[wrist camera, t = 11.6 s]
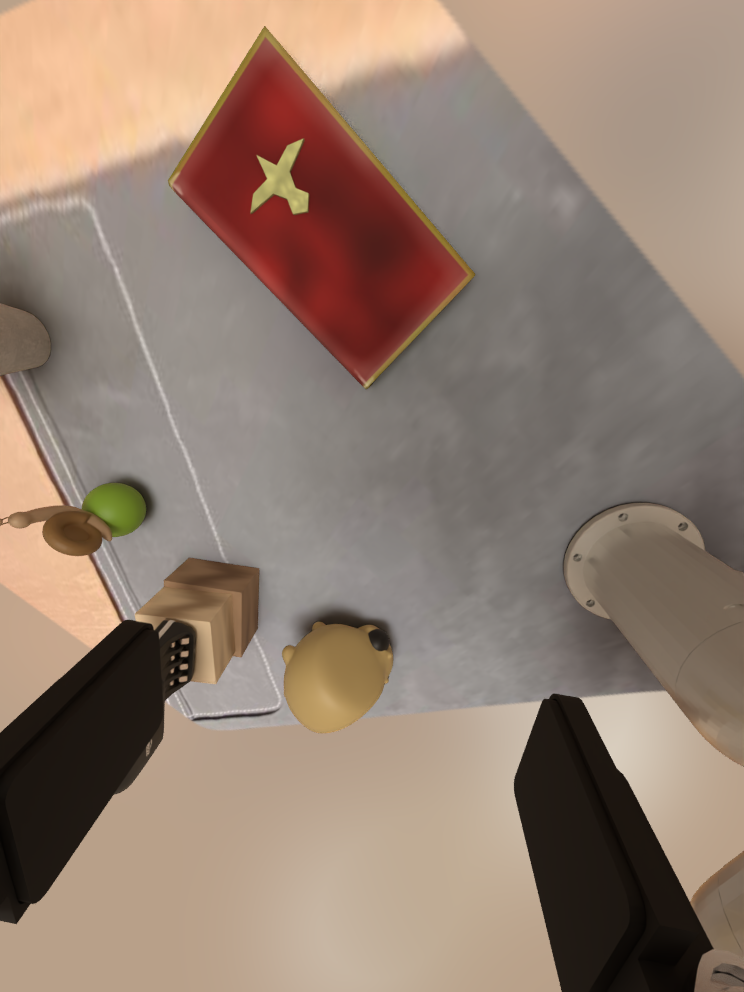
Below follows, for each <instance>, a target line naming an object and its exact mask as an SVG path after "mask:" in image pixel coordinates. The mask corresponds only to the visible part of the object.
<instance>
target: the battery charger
mask: <svg viewBox="0 0 744 992" xmlns="http://www.w3.org/2000/svg"><path fill="white" fill-rule="evenodd" d="M154 631H157V632H158V633H159V642H160V660H161V677H162V694H163V711H164V703H165V700H166V699H167V698H168V697H169V696H170V695H172V694H173V693H174V692H175V691H177V690H178V689H180V688H181V687H183V686H184V685H186V684H187V683H188V682H190V681H191V679H192V678H193V675H194V666H195V650H196V634H195V631H194V630H193V629H192V628H191V627H189V626H188V625H185V624H182V623H178V622H175V621H173V620H169V621H168V620H163V621H162V622H161V623H160V625H159V626H158V627H157V628H156V629H155V630H154ZM163 733H164V712H163V719H162V722H161V724H160V726H159V728H158V730H157V731H156V733H155V734H154V736H153V737H152V739H151V740H150V742H149V743H148V745H147V746H146V748H145V749H144V751H143V752H142V754H141V755H140V756H139V758H138V759H137V761H136V762H135V764H134V765H133V767H132V768H131V770H130V771H129V773H128V774H127V776H126V777H125V778H124V780H123V781H122V783H121V784H120V786H119V787H118V789H117V790H116V792H115V793H114V794H117V793H120V792H122V791H124V790H125V789H127V788H128V787H129V786H130V785H131V784H132V783H133V781H134V780H135V779H136V777H137V776H138V775H139V773H140V772H141V770H142V769H143V767H144V766H145V765H146V763H147V762H148V760H149V759H150V757H151V756H152V754H153V753H154V751H155V749H156V748H157V747H158V745H159V744H160V742H161V741H162V739H163Z"/></svg>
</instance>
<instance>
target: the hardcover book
mask: <svg viewBox="0 0 744 992" xmlns="http://www.w3.org/2000/svg"><path fill="white" fill-rule="evenodd" d="M168 183H169V186H170V187H171V188H172V189H173V191H174V192H175V193H176V194H177V195H178V196H179V197H180V198H181V199H182V200H183V201H184V202H185V203H186V204H187V205H188V206H189V207H190V208H191V209H192V210H193V211H194V212H195V213H196V214H197V215H198V217H199V218H200V219H201V220H202V221H203V222H204V223H205V224H206V225H207V226H208V227H209V228H210V229H211V230H212V231H213V232H214V233H215V234H216V235H217V236H218V237H219V238H220V239H221V240H222V241H223V242H224V243H225V244H226V245H227V246H228V247H229V249H230V250H231V251H232V252H233V253H234V254H235V255H236V256H237V257H238V258H239V259H240V260H241V261H242V262H243V263H244V264H245V265H246V266H247V267H248V268H249V269H250V270H251V271H252V272H253V273H254V274H255V275H256V276H257V277H258V278H259V280H260V281H261V282H262V283H263V284H264V285H265V286H266V287H267V288H268V289H269V290H270V291H271V292H272V293H273V294H274V295H275V296H276V297H277V298H278V299H279V300H280V301H281V302H282V303H283V304H284V305H285V306H286V307H287V308H288V309H289V311H290V312H291V313H292V314H293V315H294V316H295V317H296V318H297V319H298V320H299V321H300V322H301V323H302V324H303V325H304V326H305V327H306V328H307V329H308V330H309V331H310V332H311V333H312V334H313V335H314V336H315V337H316V338H317V339H318V340H319V341H320V343H321V344H322V345H323V346H324V347H325V348H326V349H327V350H328V351H329V352H330V353H331V354H332V355H333V356H334V357H335V358H336V359H337V360H338V361H339V362H340V363H341V364H342V365H343V366H344V367H345V368H346V369H347V370H348V371H349V372H350V374H351V375H352V376H353V377H354V378H355V379H356V380H357V381H358V382H359V383H360V384H361V385H362V386H363V387H364V388H365V389H368V388H369V387H370V386H371V385H372V384H373V382H374V381H375V379H376V378H377V377H378V376H379V375H380V374H381V373H382V372H383V371H384V370H385V369H386V368H387V367H388V366H389V365H390V364H391V363H392V362H393V361H394V360H395V359H396V358H397V357H398V355H399V354H400V353H401V352H402V351H403V350H404V349H405V348H406V347H407V346H408V345H409V344H410V343H411V342H412V341H413V340H414V339H415V338H416V337H417V336H418V335H419V334H420V333H421V331H422V330H423V329H424V328H425V327H426V326H427V325H428V324H429V323H430V322H431V321H432V320H433V319H434V318H435V317H436V316H437V315H438V314H439V313H440V312H441V311H442V310H443V309H444V307H445V306H446V305H447V304H448V303H449V302H450V301H451V300H452V299H453V298H454V297H455V296H456V295H457V294H458V293H459V292H460V291H461V290H462V289H463V288H464V287H465V286H466V285H467V283H468V282H469V281H470V280H471V279H472V278H473V277H474V276H475V273H474V272H473V271H472V270H471V269H470V268H469V266H468V265H467V264H466V263H465V262H464V260H463V259H462V258H461V257H460V256H459V255H458V253H457V252H456V251H455V250H454V249H453V247H452V246H451V245H450V244H449V243H448V242H447V240H446V239H445V238H444V237H443V236H442V234H441V233H440V232H439V231H438V230H437V229H436V227H435V226H434V225H433V224H432V223H431V222H430V220H429V219H428V218H427V217H426V216H425V214H424V213H423V212H422V211H421V210H420V209H419V207H418V206H417V205H416V204H415V203H414V201H413V200H412V199H411V198H410V197H409V196H408V194H407V193H406V192H405V191H404V190H403V188H402V187H401V186H400V185H399V184H398V183H397V181H396V180H395V179H394V178H393V177H392V175H391V174H390V173H389V172H388V171H387V170H386V168H385V167H384V166H383V165H382V164H381V162H380V161H379V160H378V159H377V158H376V157H375V155H374V154H373V153H372V152H371V151H370V150H369V148H368V147H367V146H366V145H365V144H364V142H363V141H362V140H361V139H360V138H359V137H358V135H357V134H356V133H355V132H354V131H353V129H352V128H351V127H350V126H349V125H348V124H347V122H346V121H345V120H344V119H343V118H342V116H341V115H340V114H339V113H338V112H337V111H336V109H335V108H334V107H333V106H332V105H331V103H330V102H329V101H328V100H327V99H326V98H325V96H324V95H323V94H322V93H321V92H320V91H319V89H318V88H317V87H316V86H315V85H314V83H313V82H312V81H311V80H310V79H309V78H308V76H307V75H306V74H305V73H304V72H303V70H302V69H301V68H300V67H299V66H298V65H297V63H296V62H295V61H294V60H293V59H292V57H291V56H290V55H289V54H288V53H287V52H286V50H285V49H284V48H283V47H282V46H281V44H280V43H279V42H278V41H277V40H276V39H275V37H274V36H273V35H272V34H271V33H270V32H269V30H268V29H267V28H266V27H265V26H264V28H263V29H262V31H261V33H260V34H259V36H258V37H257V39H256V41H255V42H254V44H253V45H252V47H251V49H250V50H249V52H248V53H247V55H246V57H245V58H244V60H243V61H242V63H241V65H240V66H239V68H238V69H237V71H236V73H235V74H234V76H233V77H232V79H231V81H230V82H229V84H228V85H227V87H226V89H225V90H224V92H223V93H222V95H221V97H220V98H219V100H218V101H217V103H216V105H215V106H214V108H213V109H212V111H211V113H210V114H209V116H208V117H207V119H206V121H205V122H204V124H203V125H202V127H201V129H200V130H199V132H198V133H197V135H196V137H195V138H194V140H193V141H192V143H191V145H190V146H189V148H188V149H187V151H186V153H185V154H184V156H183V157H182V159H181V161H180V162H179V164H178V165H177V167H176V169H175V170H174V172H173V173H172V175H171V177H170V178H169V180H168Z"/></svg>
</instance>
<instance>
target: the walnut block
mask: <svg viewBox="0 0 744 992" xmlns="http://www.w3.org/2000/svg"><path fill="white" fill-rule="evenodd" d="M164 587H170V588H179V589H189V590H198V591H208V592H218V593H227V594H232V607H233V622H234V637H235V653H234V655H233V656H236V657H242V655H243V653H244V652H245V650H246V648H247V646H248V644H249V643H250V641H251V639H252V637H253V636H254V634H255V632H256V630H257V629H258V599H259V568H253V567H246V566H240V565H233V564H227V563H220V562H214V561H207V560H201V559H194V558H188V559H187V560H186V561H185V562H184V563H183V564H182V565H181V566H179V567H178V568H177V569H176V570H175V571H174V572H173V573H172V574H171V575H169V576H168V577H167V578H166V579H165V580H164Z"/></svg>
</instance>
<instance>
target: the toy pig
mask: <svg viewBox="0 0 744 992" xmlns="http://www.w3.org/2000/svg"><path fill="white" fill-rule="evenodd" d="M282 657H283V659H284V662H285V664H286V669H285V674H284V696H285V697H286V700H287V703H288V706H289V708H290V710H291V711H292V713H293V714H294V716H295V717H296V718H297V719H298V721H299V722H300V723H301V724H303V725H304V726H305V727H306V728H308V729H309V730H311V731H313V732H316V733H330V732H334V731H338V730H341V729H343V728H345V727H347V726H349V725H351V724H352V723H354V722H355V721H357V720H358V719H359V718H361V717H362V716H363V715H364V714H365V713H366V712H367V711H368V710H369V709H370V708H371V707H372V706H373V705H374V704H375V703H376V701H377V700H378V698H379V697H380V695H381V693H382V691H383V688H384V684H385V683H388V681H389V680H388V678H389V674H390V672H391V669H392V666H393V653H392V649H391V646H390V644H389V637H388V635H387V634H386V632H385V631H383V630H381V629H379V628H378V627H376V626H373V625H365V626H362V627H359V628H358V629H357V628H354V627H351V626H347V625H343V624H330V625H325V624H324V623H322V622H316V623H315V624H314V625H313V627H312V632H310V633H309V634H307V635H306V636H305V637H304V638H303V639H302V640H301V641H300V642H299V643H298V644H297V646H296V647H294V646H291V645H288V646H286V647H285V648H284V649H283V651H282Z"/></svg>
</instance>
